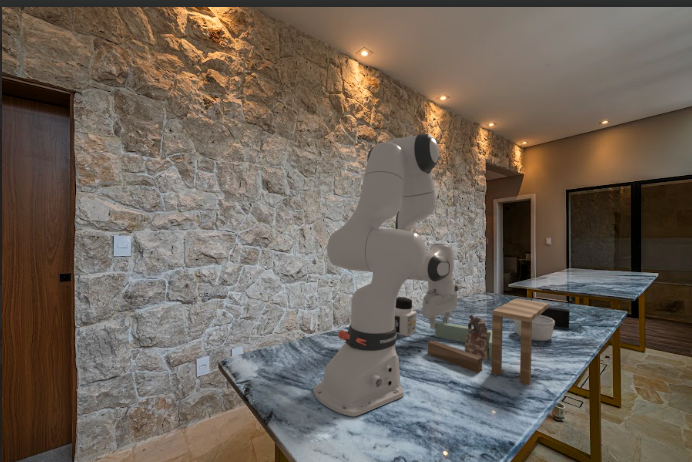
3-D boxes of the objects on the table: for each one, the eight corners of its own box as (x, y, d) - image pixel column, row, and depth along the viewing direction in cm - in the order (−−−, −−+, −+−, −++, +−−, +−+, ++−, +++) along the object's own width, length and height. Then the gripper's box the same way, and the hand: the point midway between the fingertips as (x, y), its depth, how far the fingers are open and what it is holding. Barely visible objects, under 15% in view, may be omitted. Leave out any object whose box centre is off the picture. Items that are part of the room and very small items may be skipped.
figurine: (479, 361, 89) (480, 321, 89) (459, 352, 95) (460, 315, 95) (494, 356, 93) (494, 317, 93) (474, 348, 99) (475, 312, 99)
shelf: (528, 385, 75) (530, 317, 75) (491, 372, 82) (492, 310, 82) (547, 359, 91) (548, 303, 91) (515, 350, 97) (516, 298, 97)
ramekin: (563, 343, 105) (563, 323, 105) (525, 342, 106) (526, 322, 106) (539, 330, 119) (540, 313, 119) (506, 329, 119) (506, 312, 119)
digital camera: (568, 324, 127) (568, 308, 127) (569, 328, 122) (569, 311, 122) (538, 320, 132) (539, 304, 132) (539, 323, 127) (539, 307, 127)
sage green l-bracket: (498, 360, 90) (498, 344, 90) (428, 346, 100) (428, 331, 100) (499, 346, 101) (499, 331, 101) (436, 334, 112) (436, 321, 111)
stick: (477, 374, 81) (477, 359, 81) (427, 354, 94) (427, 342, 94) (481, 371, 83) (482, 357, 83) (432, 352, 95) (432, 340, 95)
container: (407, 336, 108) (408, 301, 108) (388, 332, 113) (389, 298, 113) (416, 331, 115) (417, 297, 115) (398, 327, 119) (399, 294, 119)
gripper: (434, 292, 100) (433, 334, 100) (460, 286, 114) (460, 321, 114) (418, 289, 104) (417, 329, 104) (445, 283, 119) (444, 318, 119)
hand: (439, 325), depth 109 cm, fingers open, 8 cm apart
